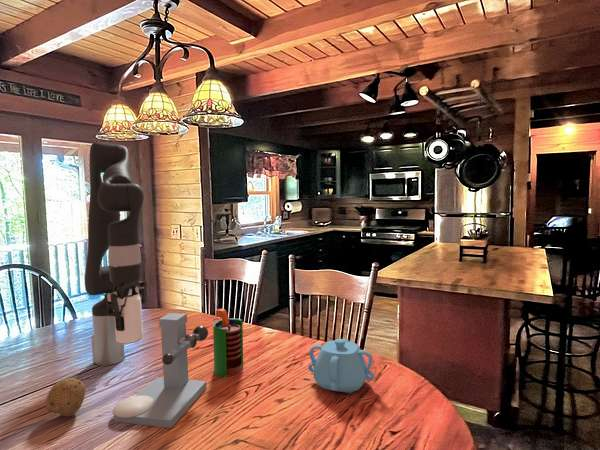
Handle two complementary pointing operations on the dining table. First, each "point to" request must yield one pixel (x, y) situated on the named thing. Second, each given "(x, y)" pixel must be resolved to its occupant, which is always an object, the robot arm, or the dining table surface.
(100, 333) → the robot arm
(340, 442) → the dining table surface
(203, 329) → the lever
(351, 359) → the decorative pot
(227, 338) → the motor
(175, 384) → the press
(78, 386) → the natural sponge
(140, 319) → the can
